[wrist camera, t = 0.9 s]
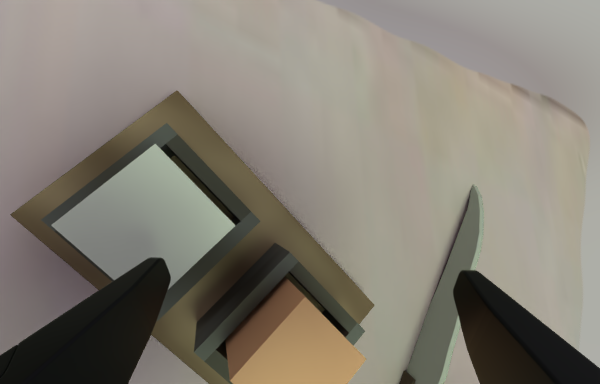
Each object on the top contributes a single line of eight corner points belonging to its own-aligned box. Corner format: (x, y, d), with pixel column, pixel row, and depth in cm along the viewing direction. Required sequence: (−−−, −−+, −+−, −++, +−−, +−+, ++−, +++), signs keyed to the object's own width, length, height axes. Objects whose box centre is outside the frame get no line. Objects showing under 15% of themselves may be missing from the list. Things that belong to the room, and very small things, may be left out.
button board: (264, 414, 22) (283, 488, 17) (30, 213, 18) (-51, 219, 12) (362, 297, 25) (406, 325, 20) (180, 100, 21) (169, 63, 15)
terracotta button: (281, 390, 18) (301, 442, 14) (225, 339, 17) (230, 380, 13) (334, 327, 19) (366, 359, 15) (284, 276, 18) (305, 296, 14)
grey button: (162, 283, 16) (147, 308, 12) (90, 218, 15) (51, 225, 11) (229, 219, 17) (235, 225, 13) (167, 156, 16) (155, 143, 12)
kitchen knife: (394, 528, 22) (518, 183, 26) (383, 526, 22) (510, 177, 26) (366, 476, 26) (477, 184, 30) (357, 474, 26) (469, 179, 30)
